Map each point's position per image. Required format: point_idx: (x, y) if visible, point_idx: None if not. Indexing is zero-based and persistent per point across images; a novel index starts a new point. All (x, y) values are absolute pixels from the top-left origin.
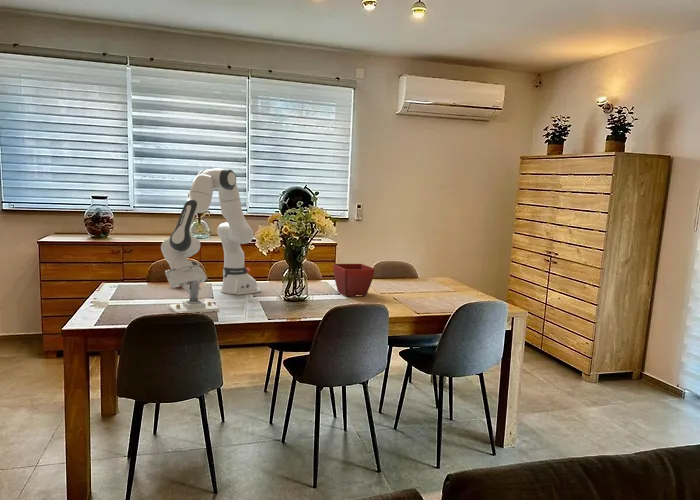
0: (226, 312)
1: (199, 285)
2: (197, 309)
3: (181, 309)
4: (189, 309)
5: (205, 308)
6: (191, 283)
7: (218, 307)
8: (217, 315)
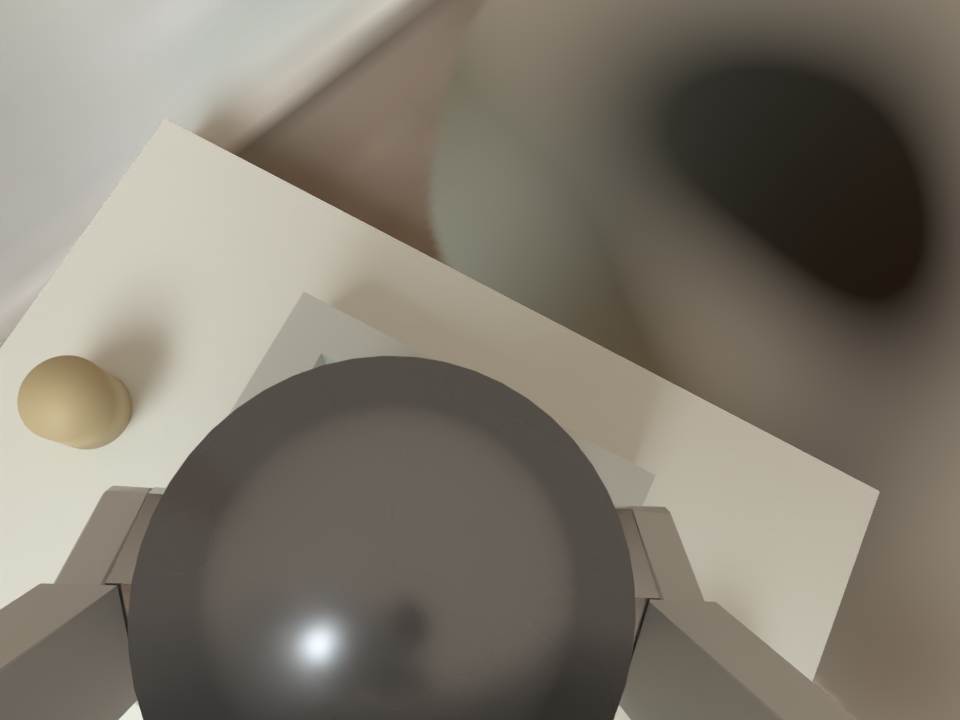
0: (176, 7)
1: (38, 596)
2: (510, 337)
3: (714, 563)
4: (611, 448)
5: (357, 279)
6: (623, 563)
7: (143, 148)
8: (409, 8)
